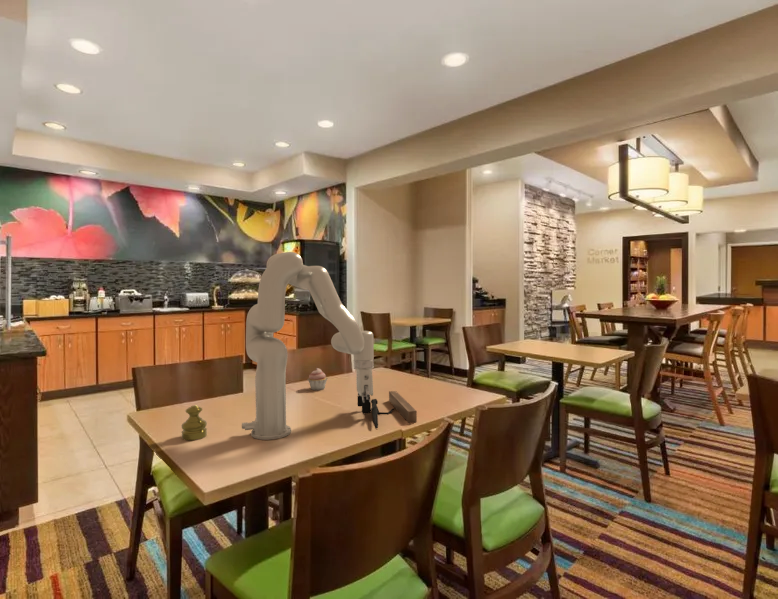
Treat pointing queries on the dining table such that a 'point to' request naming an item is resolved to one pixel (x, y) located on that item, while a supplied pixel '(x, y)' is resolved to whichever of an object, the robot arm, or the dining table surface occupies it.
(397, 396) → the rail
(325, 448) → the dining table surface
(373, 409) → the dark humanoid figurine
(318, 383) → the cupcake
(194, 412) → the olive green tapered piece
